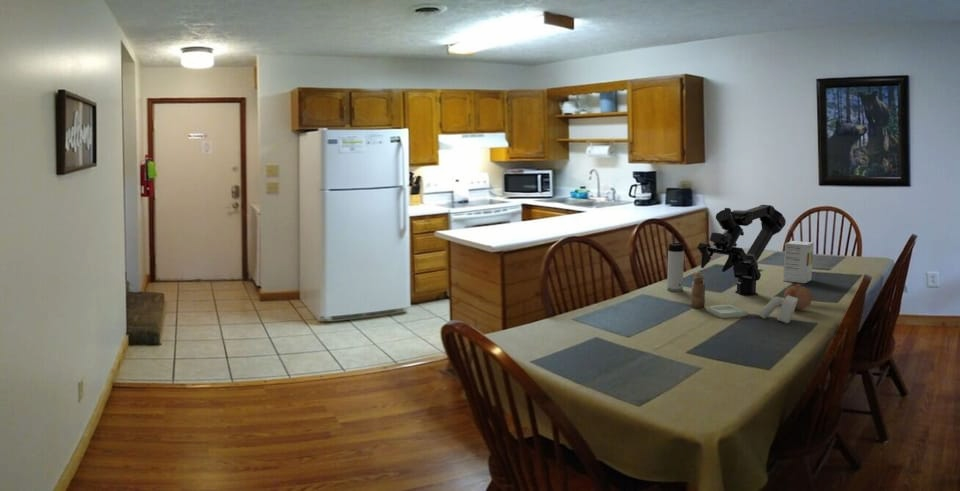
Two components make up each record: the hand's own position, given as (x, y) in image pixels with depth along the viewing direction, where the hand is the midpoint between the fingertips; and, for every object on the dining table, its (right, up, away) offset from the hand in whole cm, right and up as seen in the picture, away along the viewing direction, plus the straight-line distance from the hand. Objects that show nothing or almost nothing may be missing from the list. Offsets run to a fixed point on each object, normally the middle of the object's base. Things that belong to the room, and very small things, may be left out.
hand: (712, 269), depth 261 cm
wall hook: (+15, -17, -22) cm, 31 cm away
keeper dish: (+1, -16, -13) cm, 20 cm away
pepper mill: (-7, -14, -3) cm, 16 cm away
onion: (+28, -15, -10) cm, 33 cm away
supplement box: (+50, -6, +39) cm, 64 cm away
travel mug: (-7, -10, +25) cm, 28 cm away
